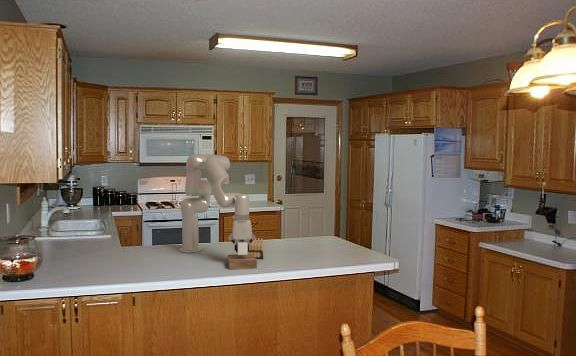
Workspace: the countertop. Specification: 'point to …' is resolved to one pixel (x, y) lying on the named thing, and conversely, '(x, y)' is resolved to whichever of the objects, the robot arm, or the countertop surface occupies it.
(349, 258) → the countertop surface
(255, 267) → the walnut stand
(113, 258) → the countertop surface
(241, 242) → the block
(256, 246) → the ammunition clip
